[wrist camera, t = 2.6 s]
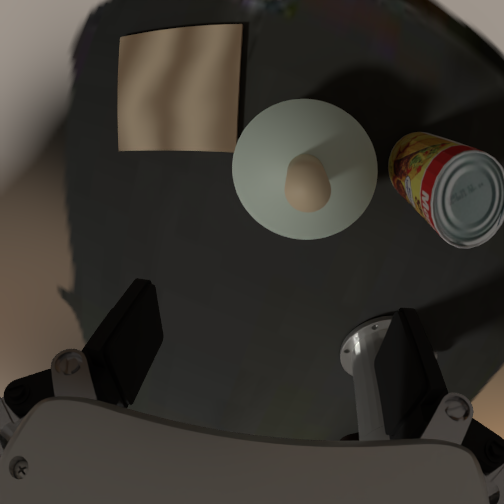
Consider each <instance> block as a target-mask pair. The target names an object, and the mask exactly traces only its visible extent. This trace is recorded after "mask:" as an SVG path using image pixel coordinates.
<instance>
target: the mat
mask: <svg viewBox="0 0 504 504" xmlns="http://www.w3.org/2000/svg"><path fill="white" fill-rule="evenodd" d="M242 39H243V24H223V25H204V26H192V27H182V28H173V29H165V30H158V31H151V32H145V33H140V34H134V35H129V36H124V37H120V48H119V67H118V143H119V151H135V150H186V151H217V152H234V151H235V147H236V145H237V137H238V114H239V93H240V74H241V56H242Z"/></svg>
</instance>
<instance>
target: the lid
mask: <svg viewBox="0 0 504 504" xmlns="http://www.w3.org/2000/svg"><path fill="white" fill-rule="evenodd" d="M232 172H233V180H234V185H235V188H236V192H237V194H238V196H239V198H240V201H241V202H242V204H243V206H244V207H245V209H246V210H247V211H248V212H249V214H250V215H251V216H252V217H253V218H254V219H255V220H256V221H257V222H259V223H260V224H261V225H263V226H264V227H265V228H267V229H269V230H271V231H272V232H275V233H277V234H279V235H282V236H285V237H289V238H294V239H304V240H309V239H319V238H324V237H327V236H331V235H333V234H336V233H338V232H340V231H342V230H344V229H345V228H347V227H348V226H350V225H351V224H352V223H353V222H355V221H356V220H357V219H358V218H359V217H360V216H361V215H362V213H363V212H364V211H365V209H366V208H367V206H368V204H369V203H370V201H371V199H372V196H373V194H374V191H375V187H376V183H377V174H378V169H377V159H376V154H375V151H374V147H373V145H372V142H371V140H370V138H369V136H368V135H367V133H366V132H365V130H364V129H363V127H362V126H361V125H360V124H359V123H358V122H357V121H356V120H355V119H354V118H353V117H352V116H351V115H350V114H348V113H347V112H345V111H344V110H342V109H341V108H338V107H336V106H334V105H332V104H329V103H326V102H323V101H319V100H313V99H294V100H288V101H284V102H281V103H278V104H275V105H273V106H271V107H269V108H267V109H265V110H264V111H262V112H261V113H260V114H258V115H257V116H256V117H255V118H254V119H253V120H252V121H251V122H250V123H249V124H248V125H247V127H246V128H245V129H244V131H243V132H242V134H241V136H240V138H239V140H238V142H237V145H236V147H235V151H234V155H233V163H232Z"/></svg>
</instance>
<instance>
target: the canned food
mask: <svg viewBox="0 0 504 504" xmlns="http://www.w3.org/2000/svg"><path fill="white" fill-rule="evenodd" d="M388 171H389V177H390V179H391V182H392V184H393V186H394V187H395V189H396V190H397V191H398V192H399V193H400V194H401V195H402V196H403V197H404V198H405V199H406V200H407V201H408V202H409V203H410V204H411V205H412V206H413V207H414V208H415V210H416V211H417V212H418V213H419V214H420V215H421V216H422V217H423V218H424V219H425V220H426V221H427V222H428V223H429V224H430V225H431V226H432V227H433V229H434V230H435V231H436V232H437V233H438V234H439V235H440V236H441V237H442V238H443V239H444V240H445V241H446V242H448V243H449V244H450V245H453V246H455V247H458V248H472V247H476V246H479V245H481V244H483V243H484V242H486V241H488V240H489V239H490V238H491V237H492V236H493V235H494V234H495V233H496V232H497V230H498V229H499V227H500V226H501V225H502V223H503V220H504V169H503V167H502V166H501V164H500V163H499V162H498V161H497V160H496V159H495V158H494V157H493V156H491V155H489V154H488V153H486V152H484V151H481V150H479V149H476V148H473V147H470V146H467V145H464V144H462V143H459V142H456V141H452V140H449V139H446V138H443V137H440V136H436V135H433V134H430V133H425V132H413V133H409V134H407V135H405V136H403V137H402V138H401V139H400V140H399V141H398V142H396V144H395V146H394V147H393V149H392V150H391V154H390V157H389V162H388Z"/></svg>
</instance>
